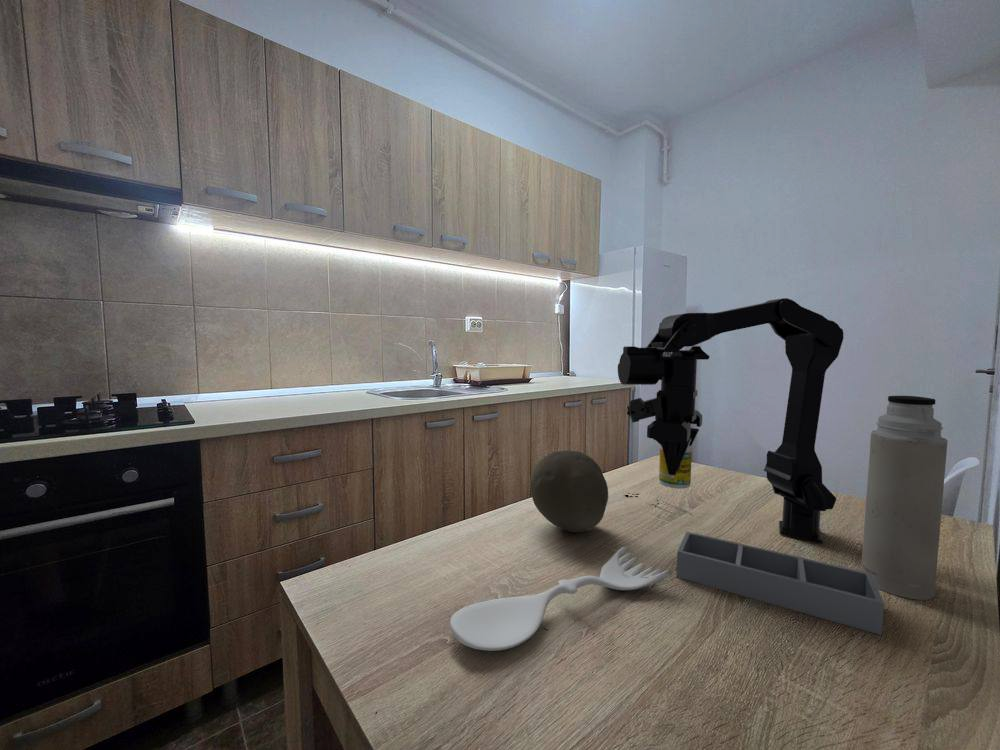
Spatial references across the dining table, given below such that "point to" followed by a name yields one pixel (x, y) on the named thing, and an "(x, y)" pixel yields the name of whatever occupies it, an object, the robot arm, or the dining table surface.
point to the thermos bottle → (905, 498)
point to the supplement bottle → (682, 474)
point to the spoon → (539, 606)
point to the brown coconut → (569, 490)
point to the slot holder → (783, 580)
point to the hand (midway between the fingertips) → (675, 470)
